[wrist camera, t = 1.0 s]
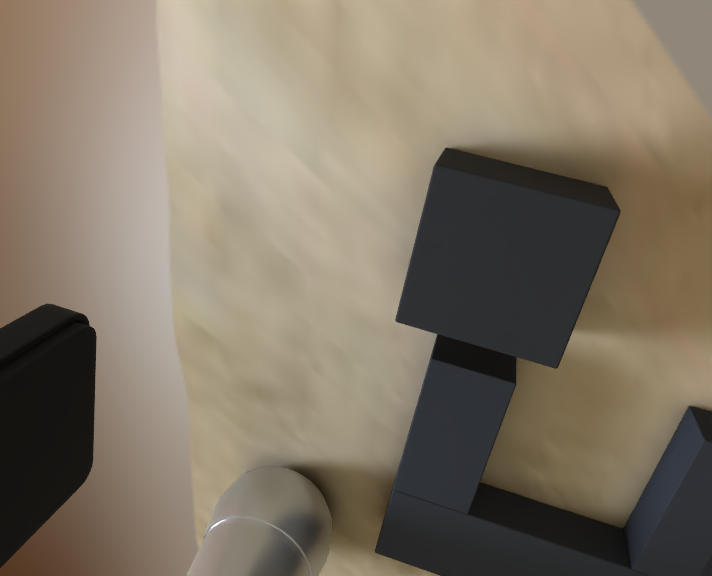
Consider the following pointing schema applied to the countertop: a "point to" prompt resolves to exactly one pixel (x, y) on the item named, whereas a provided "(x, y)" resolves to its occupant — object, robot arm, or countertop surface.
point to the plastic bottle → (266, 528)
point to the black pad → (505, 255)
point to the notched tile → (521, 515)
